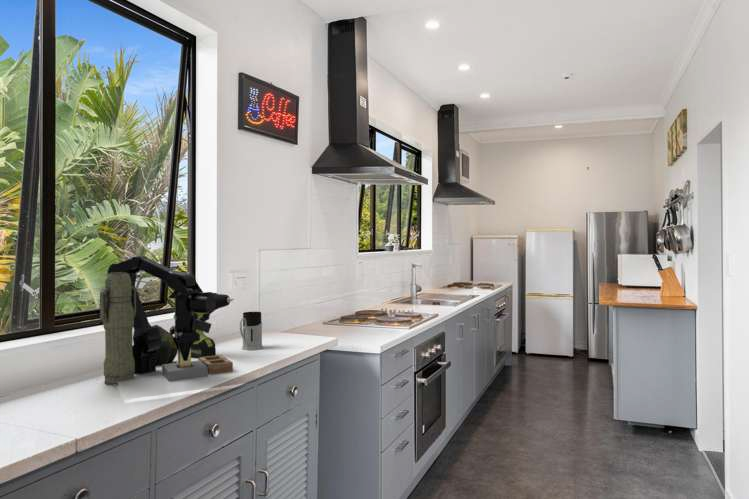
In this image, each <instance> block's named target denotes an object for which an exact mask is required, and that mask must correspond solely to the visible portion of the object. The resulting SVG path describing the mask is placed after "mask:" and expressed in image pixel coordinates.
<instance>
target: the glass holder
mask: <svg viewBox="0 0 749 499" xmlns="http://www.w3.org/2000/svg"><path fill="white" fill-rule="evenodd" d="M262 325H263V323H262V312H261V311H246V312H245V311H244V312H243V313H242V318H241V319H240V321H239V331H240V335H241V338H242V347H241V350H243V351H257V350H258V351H259V350H263V349H264V347H263V333H262V332H263V331H262V330H263V327H262Z"/></svg>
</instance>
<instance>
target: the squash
mask: <svg viewBox="0 0 749 499" xmlns="http://www.w3.org/2000/svg"><path fill="white" fill-rule="evenodd" d="M151 326H152V327H153V328H154V327H158V329H159V333H160V335H161V336H162V338H161V341H162V344H161V346H160V348H159V350H158V353H157V354H155V355H153V356H154V359H155V360H156V366H162V364H170V363H173V361H175V359H176V357H177V356H178V349H177V347H176V345H175V343H174V341H173V339H172V337H175V335H174V334H173V335H170V331H168V330H166V329H165V328H163V327H162V326H160V325H158V324H155V325H151Z"/></svg>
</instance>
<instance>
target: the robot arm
mask: <svg viewBox="0 0 749 499" xmlns="http://www.w3.org/2000/svg"><path fill="white" fill-rule="evenodd" d="M141 271H143V272H145V273H147V274H149V275H151V276H153V277H155V278H157V279H159V280H161V281H163V282H164V283H165V284H166V285H167V287H169V289H171V290H173V292H172V293H171V294H170V295H168V298H169V299H174V314H173V319H174V325H172V326H171V327H170V328H169V333H170V335H173V336H174V337H172V339H173V341H174V343H175V345H176V347H177V349H178V347H179V350H180V352H181V355H182V357H183V360H184V361H187V360H188V356H189V352H190V349H191V345H192V344H193V343H194V342H196V341H200V334H199V333H197V332H196V329H197V330H200V331H203V333H204V334H205V333H206V334H210V330H211V327H212V325H213V324H212V323H210V322H208V321H205V319H204V318H202V317H199V318H198V319H196V317H195V315H193V312H195V313H211V314H212V313H214V312H215V311H216V310H215V307H216V301H215V299H214V297H213V296H212V293H213V292H212V291H207V292H205V291H203V290H202V289H201V287H200V285H199V284H198V282H197V279H196V276H195V275H193V274H192V273H189V272H185V271H179V270H174V269H171V268H170V267H168V266H166V265H164V264H161V263H159V262H157V261H155V260H153V259H151V258H149V257H148V256H146V255H134V256H133V257H131V258H129V259H126V260H123V261H121V262H118V263H116V262H115V263H112V264H110V265H109V267H108V269H107V271H106V272H107V274H106V275H108V274H110V273H111V272H126V273H128V274H129V276H130V279H131V286H134V288H135V289H136V317H134V326H133V333H132V343H133V344H132V346H133V357H134V360H135V372H134V375H136V374H138V375H141V374H142V375H143V374H150V373H154V372H156V371H157V369H156V368H157V363H156V360H155V359H154V356H153V355H155V354H157V353H158V350H159V348H160V346H161V344H162V341H161V338H162V336H161V335H160V333H159V329H158V327H154V328H153V327H152V326H153V325H151V324H150V322H149V319H148V317H147V314H146V311H145V309H144V306H143V304H142V301H141V298H140V295H139V292H138V291H137V288H136V283H137V274H138V273H139V272H141ZM214 310H215V311H214ZM213 311H214V312H213Z"/></svg>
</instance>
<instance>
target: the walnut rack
mask: <svg viewBox="0 0 749 499" xmlns="http://www.w3.org/2000/svg"><path fill="white" fill-rule="evenodd" d="M198 360H199V361H201V362H202V363H203V364H204V365H206V366H207V367H208V375H216V374H222V373H230V372H231V373H232V372H233V369H234V366H233V365H234V364H233V361H231V360H230V359H228V358H226V357H225V356H224V355H222V354H218V355H215V356H206V357H199V358H198Z"/></svg>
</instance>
